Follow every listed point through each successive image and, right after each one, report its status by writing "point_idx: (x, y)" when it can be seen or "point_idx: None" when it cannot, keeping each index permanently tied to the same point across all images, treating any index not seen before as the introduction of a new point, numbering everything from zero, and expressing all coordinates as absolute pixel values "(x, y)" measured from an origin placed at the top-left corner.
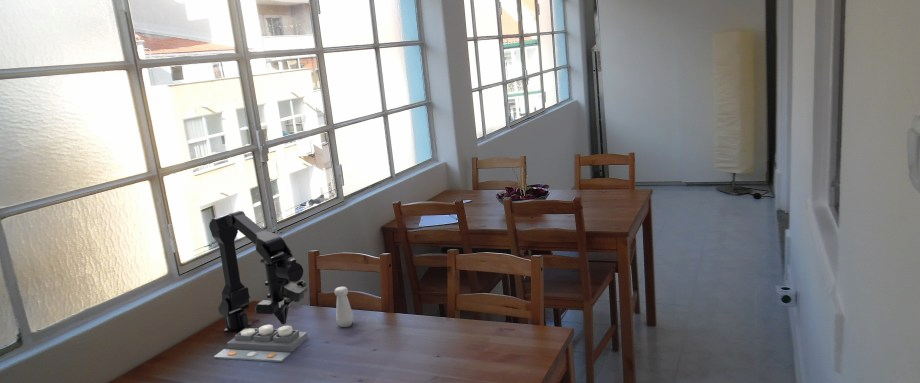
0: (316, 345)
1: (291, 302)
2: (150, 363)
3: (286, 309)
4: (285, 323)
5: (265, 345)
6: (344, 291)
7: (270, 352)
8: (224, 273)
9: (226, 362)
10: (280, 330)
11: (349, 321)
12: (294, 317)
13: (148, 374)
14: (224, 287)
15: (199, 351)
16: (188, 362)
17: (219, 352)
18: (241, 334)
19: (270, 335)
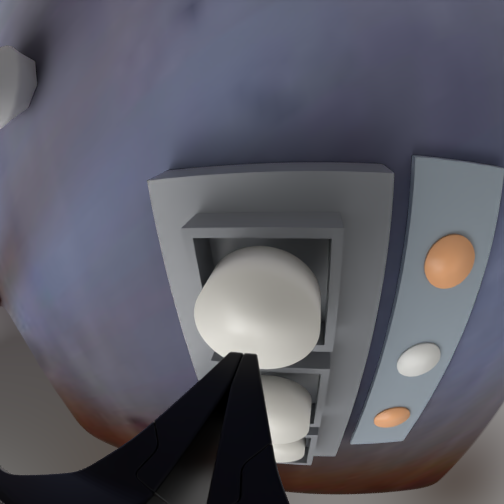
0: (253, 40)
1: (29, 495)
2: (396, 486)
3: (159, 477)
4: (238, 352)
5: (367, 347)
6: None
7: (409, 289)
8: None
9: (446, 398)
10: (302, 342)
11: (11, 47)
12: (64, 338)
13: (448, 468)
14: None
15: (349, 468)
16: (413, 457)
17: (375, 442)
18: (300, 456)
19: (304, 373)
